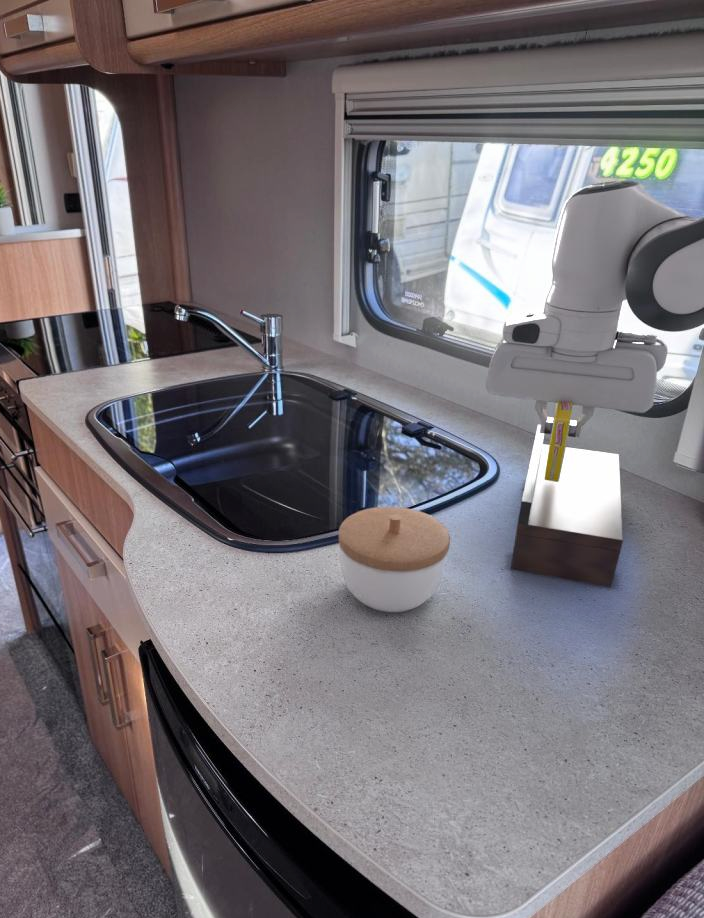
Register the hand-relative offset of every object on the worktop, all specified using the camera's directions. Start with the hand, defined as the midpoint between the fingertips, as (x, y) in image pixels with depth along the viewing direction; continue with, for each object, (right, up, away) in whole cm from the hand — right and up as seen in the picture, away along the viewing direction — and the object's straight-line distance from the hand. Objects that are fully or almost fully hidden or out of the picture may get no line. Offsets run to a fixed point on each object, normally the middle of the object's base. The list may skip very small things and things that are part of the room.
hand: (559, 434), depth 94 cm
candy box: (0, -3, +2) cm, 3 cm away
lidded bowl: (-23, -21, -8) cm, 32 cm away
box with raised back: (+3, -13, +6) cm, 15 cm away
